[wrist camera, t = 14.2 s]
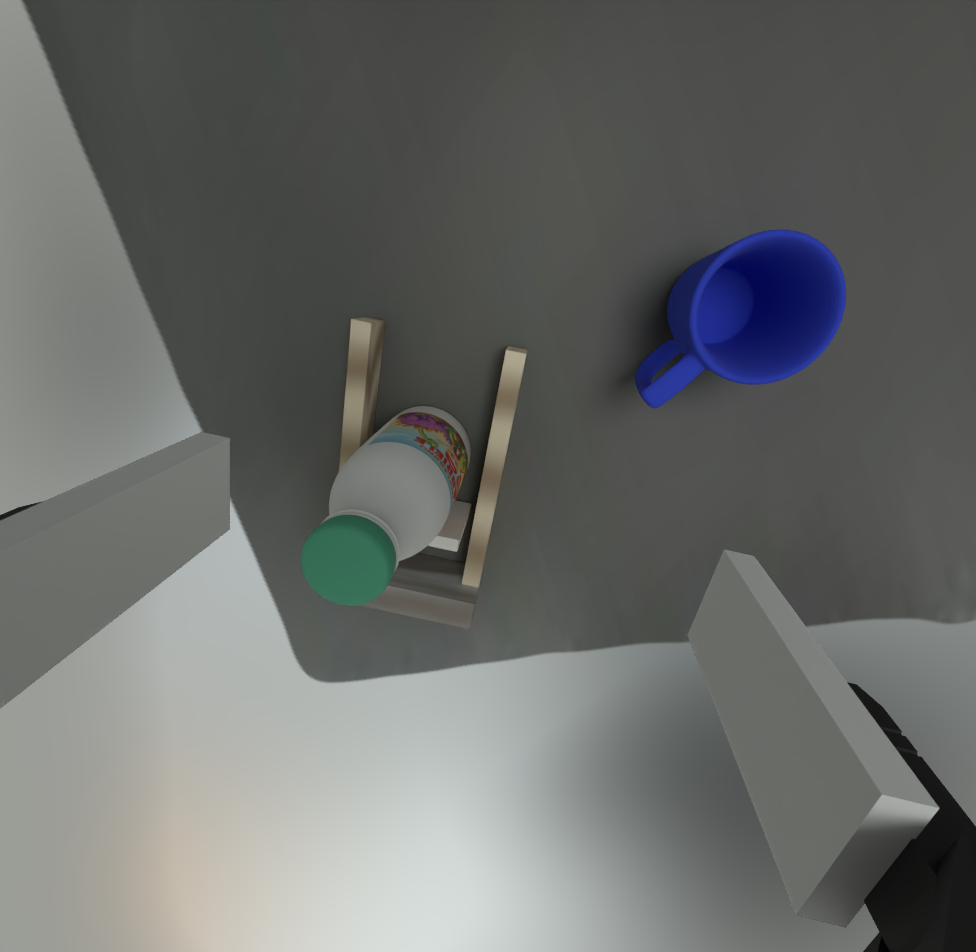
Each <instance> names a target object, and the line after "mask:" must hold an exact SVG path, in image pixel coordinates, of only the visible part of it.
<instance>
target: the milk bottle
mask: <svg viewBox="0 0 976 952" xmlns="http://www.w3.org/2000/svg"><path fill="white" fill-rule="evenodd" d="M470 458H471V446H470V441H469V438H468V435H467V433H466V431H465V430H464V428H463V427H462V425H461V424H460V423H459V422H458V421H457V420H456V419H455V418H454V417H453V416H452V415H450V414H449V413H447V412H445V411H443V410H441V409H438V408H435V407H430V406H417V407H412V408H409V409H406V410H404V411H402V412H400V413H399V414H397V415H396V416H395V417H393V418H392V419H391V420H390V421H389V422H388V423H386V424H385V425H384V426H383V427H382V428H381V429H380V430H379V431H377V432H376V433H375V434H374V435H373V436H372V437H371V438H370V439H369V440H368V441H366V442H365V443H364V444H363V445H362V446H361V447H360V448H359V449H358V450H357V451H356V452H355V453H354V454H353V455H352V456H351V457H350V458H349V459H348V460H347V462H346V463H345V464H344V465H343V467H342V468H341V470H340V471H339V473H338V475H337V477H336V479H335V481H334V484H333V486H332V489H331V494H330V500H329V516H328V517H327V518H325V519H324V520H323V522H322V523H321V524H320V525H319V526H318V527H317V528H316V529H315V530H314V531H313V532H312V533H311V535H310V536H309V537H308V539H307V540H306V542H305V544H304V546H303V549H302V553H301V568H302V571H303V574H304V577H305V579H306V580H307V582H308V583H309V585H310V586H311V587H312V588H313V589H314V590H315V591H316V592H317V593H318V594H319V595H320V596H322V597H323V598H325V599H327V600H329V601H331V602H334V603H337V604H340V605H346V606H357V605H362V604H366V603H368V602H370V601H372V600H374V599H375V598H377V597H378V596H379V595H380V594H381V593H382V592H383V591H384V590H385V589H386V587H387V585H388V584H389V582H390V580H391V578H392V576H393V574H394V572H395V570H396V568H397V566H398V563H399V561H401V560H404V559H406V558H409V557H411V556H413V555H415V554H417V553H418V552H420V551H421V550H423V549H424V548H425V547H426V546H428V545H429V544H430V543H431V542H432V541H433V540H434V538H435V537H436V536H437V535H438V533H439V532H440V531H441V529H442V527H443V526H444V524H445V522H446V520H447V518H448V516H449V514H450V512H451V509H452V507H453V505H454V502H455V500H456V497H457V495H458V493H459V490H460V488H461V485H462V483H463V480H464V478H465V475H466V473H467V470H468V467H469V463H470Z"/></svg>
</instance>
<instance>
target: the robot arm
mask: <svg viewBox="0 0 976 952" xmlns="http://www.w3.org/2000/svg"><path fill="white" fill-rule="evenodd" d="M229 529H230V438H227V437H222V436H218V435H213V434H209V433H204V432H201V433H198V434H196V435H194V436H192V437H189V438H187V439H185V440H182V441H180V442H178V443H176V444H174V445H171V446H169V447H167V448H164V449H162V450H160V451H157V452H155V453H153V454H151V455H148V456H146V457H144V458H141V459H139V460H137V461H135V462H133V463H130V464H128V465H126V466H123V467H121V468H119V469H117V470H114V471H112V472H110V473H107V474H105V475H103V476H101V477H98V478H96V479H94V480H91V481H89V482H87V483H85V484H83V485H81V486H78V487H76V488H73V489H71V490H69V491H66V492H64V493H62V494H60V495H57V496H55V497H53V498H51V499H48V500H46V501H43V502H39V503H35V504H31V505H26V506H23V507H18V508H16V509H14V510H11V511H9V512H7V513H4V514H2V515H0V708H2V707H3V706H4V705H5V704H7V703H8V702H9V701H11V700H12V699H13V698H14V697H16V696H17V695H18V694H20V693H21V692H22V691H23V690H25V689H26V688H27V687H28V686H30V685H31V684H32V683H33V682H35V681H36V680H37V679H39V678H40V677H41V676H43V675H44V674H45V673H46V672H48V671H49V670H50V669H51V668H53V667H54V666H55V665H57V664H58V663H59V662H61V661H62V660H63V659H64V658H66V657H67V656H68V655H69V654H71V653H72V652H73V651H74V650H76V649H77V648H78V647H80V646H81V645H82V644H83V643H84V642H86V641H87V640H89V639H90V638H91V637H92V636H94V635H95V634H96V633H98V632H99V631H100V630H101V629H102V628H104V627H105V626H106V625H108V624H109V623H110V622H112V621H113V620H114V619H115V618H117V617H118V616H119V615H121V614H122V613H123V612H124V611H126V610H127V609H128V608H130V607H131V606H132V605H133V604H135V603H136V602H137V601H139V600H140V599H141V598H142V597H143V596H145V595H146V594H147V593H149V592H150V591H151V590H153V589H154V588H155V587H156V586H158V585H159V584H160V583H161V582H162V581H164V580H165V579H166V578H168V577H169V576H171V575H172V574H173V573H174V572H176V571H177V570H178V569H179V568H181V567H182V566H183V565H185V564H186V563H187V562H188V561H190V560H191V559H192V558H194V557H195V556H196V555H197V554H198V553H200V552H201V551H202V550H204V549H205V548H206V547H208V546H209V545H210V544H211V543H213V542H214V541H215V540H217V539H218V538H219V537H220V536H222V535H223V534H224V533H226V532H227V531H228V530H229ZM688 638H689V640H690V643H691V645H692V648H693V651H694V653H695V656H696V658H697V661H698V663H699V666H700V669H701V671H702V674H703V676H704V679H705V681H706V684H707V687H708V689H709V692H710V695H711V697H712V699H713V702H714V705H715V707H716V710H717V713H718V715H719V718H720V720H721V723H722V725H723V728H724V731H725V733H726V736H727V738H728V741H729V744H730V746H731V749H732V751H733V754H734V757H735V759H736V762H737V764H738V767H739V769H740V772H741V775H742V777H743V780H744V782H745V785H746V787H747V790H748V793H749V795H750V798H751V800H752V803H753V805H754V808H755V811H756V813H757V816H758V819H759V821H760V824H761V826H762V829H763V831H764V834H765V837H766V839H767V842H768V844H769V847H770V849H771V852H772V854H773V857H774V860H775V862H776V865H777V868H778V870H779V873H780V875H781V878H782V881H783V883H784V885H785V888H786V891H787V893H788V896H789V899H790V901H791V904H792V906H793V909H794V911H795V914H796V915H797V916H801V917H805V918H809V919H813V920H817V921H821V922H826V923H829V924H833V925H837V926H841V927H846V926H847V925H848V924H849V923H850V921H851V920H852V919H853V918H854V916H855V915H856V914H857V913H858V911H859V910H860V909H861V908H862V906H863V905H864V904H866V906H867V908H868V910H869V912H870V914H871V916H872V918H873V920H874V922H875V924H876V926H877V928H878V930H879V933H878V935H877V936H876V937H875V938H874V939H873V941H872V942H871V943H870V944H869V945H868V947H867V948H866V949H865V950H864V951H863V952H976V826H975V825H974V824H973V823H972V821H971V820H970V819H969V817H968V816H967V815H966V813H965V812H964V811H963V810H962V808H961V807H960V806H959V804H958V803H957V802H956V801H955V799H954V798H953V797H952V795H951V794H950V793H949V792H948V791H947V789H946V788H945V786H944V785H943V784H942V783H941V781H940V780H939V779H938V777H937V776H936V775H935V774H934V773H933V771H932V770H931V768H930V767H929V766H928V765H927V763H926V762H925V761H924V760H923V758H922V757H919V756H917V750H916V749H915V748H914V747H913V745H912V744H911V743H910V742H909V740H908V739H907V738H906V736H902V735H901V732H902V731H901V730H900V729H899V727H898V726H897V725H896V724H895V722H894V721H893V720H892V719H891V717H890V716H889V715H888V713H887V712H886V711H885V709H884V708H883V707H882V706H881V705H880V704H878V703H877V702H876V701H875V700H874V699H873V698H872V697H870V696H869V695H868V694H867V693H866V692H865V691H863V690H862V689H861V688H860V687H859V686H858V685H856V684H852V683H848V682H846V681H845V680H844V678H843V677H842V675H841V674H840V672H839V671H838V670H837V668H836V667H835V666H834V664H833V663H832V662H831V660H830V659H829V657H828V656H827V655H826V653H825V652H824V651H823V649H822V648H821V647H820V645H819V644H818V642H817V641H816V640H815V639H814V637H813V636H812V635H811V633H810V632H809V630H808V629H807V628H806V626H805V625H804V623H803V622H802V621H801V619H800V618H799V617H798V615H797V614H796V613H795V611H794V610H793V609H792V607H791V606H790V604H789V603H788V602H787V600H786V599H785V598H784V596H783V595H782V594H781V592H780V591H779V590H778V588H777V587H776V585H775V584H774V583H773V581H772V580H771V579H770V577H769V576H768V575H767V573H766V572H765V571H764V569H763V568H762V566H761V565H760V564H759V562H758V561H757V560H756V558H755V557H754V556H751V555H746V554H742V553H737V552H733V551H728V550H724V551H723V553H722V556H721V558H720V560H719V563H718V565H717V567H716V570H715V572H714V574H713V577H712V579H711V581H710V584H709V586H708V588H707V591H706V593H705V595H704V598H703V600H702V602H701V605H700V607H699V610H698V612H697V614H696V617H695V619H694V621H693V624H692V626H691V628H690V631H689V633H688Z"/></svg>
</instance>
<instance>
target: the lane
mask: <svg viewBox="0 0 976 952" xmlns="http://www.w3.org/2000/svg"><path fill="white" fill-rule="evenodd" d="M384 329H385V320H380V319H375V318H370V317H363V318H356V319H351V330H350V342H349V354H348V366H347V379H346V391H345V403H344V415H343V428H342V440H341V452H340V464H339V471H340V470H341V468H342V467H343V465H344V464H345V463H346V462H347V460H348V459H349V458H350V457H351V456H352V455H353V454H354V453H355V452H356V451H357V450H358V449H359V448H360V447H361V446H362V445H363V444H364V443H365V442H366V441H368V440H369V439H370V438H371V437H372V436H373V434H374V424H375V415H376V405H377V395H378V386H379V376H380V367H381V357H382V348H383V338H384ZM527 350H528V349H526V348H521V347H516V346H511V345H509V346H508V348H507V349H506V353H505V358H504V363H503V368H502V374H501V379H500V384H499V389H498V395H497V400H496V405H495V411H494V416H493V421H492V426H491V432H490V437H489V442H488V447H487V453H486V458H485V463H484V469H483V474H482V479H481V484H480V490H479V495H478V500H477V505H476V511H475V516H474V521H473V526H472V532H471V537H470V542H469V548H468V553H467V558H466V563H462V562H457V561H453V560H448V559H443V558H439V557H434V556H429V555H425V554H420V553H417V554H415V555H413V556H411V557H409V558H406V559H404V560H401V561H399V563H398V566H397V568H396V570H395V572H394V574H393V576H392V578H391V580H390V582H389V584H388V585H387V587H386V589H385V590H384V591H383V592H382V593H381V594H380V595H379V596H378V597H377V598H375V599H374V600H372V601H370V602H368V603H366V604H362V605H360V606H365V607H369V608H374V609H379V610H383V611H388V612H392V613H397V614H402V615H406V616H411V617H415V618H420V619H425V620H429V621H434V622H438V623H443V624H448V625H452V626H457V627H461V628H466V629H470V627H471V622H472V617H473V613H474V608H475V604H476V599H477V595H478V590H479V585H480V580H481V575H482V570H483V565H484V561H485V556H486V551H487V546H488V541H489V536H490V531H491V526H492V521H493V517H494V512H495V507H496V502H497V497H498V492H499V487H500V482H501V477H502V473H503V468H504V463H505V458H506V453H507V448H508V443H509V438H510V433H511V429H512V424H513V419H514V414H515V409H516V404H517V399H518V394H519V390H520V385H521V380H522V375H523V370H524V365H525V360H526V355H527ZM318 596H319V597H322V596H320V595H319V594H318Z"/></svg>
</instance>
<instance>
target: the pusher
mask: <svg viewBox="0 0 976 952" xmlns="http://www.w3.org/2000/svg"><path fill="white" fill-rule="evenodd" d="M470 509H471V503H466V502H461V501H456V500H455V502H454V505H453V507H452V509H451V512H450V514H449V516H448V518H447V520H446V522H445V524H444V526H443V527H442V529H441V531H440V532H439V533H438V535H437V536H436V537H435V538H434V540H433V541H432V542H431V543H430V544H429V545H428V546H431V547H436V548H441V549H446V550H450V551H455V552H457V551H458V548H459V545H460V542H461V539H462V536H463V533H464V529H465V526H466V523H467V520H468V517H469V514H470Z"/></svg>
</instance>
